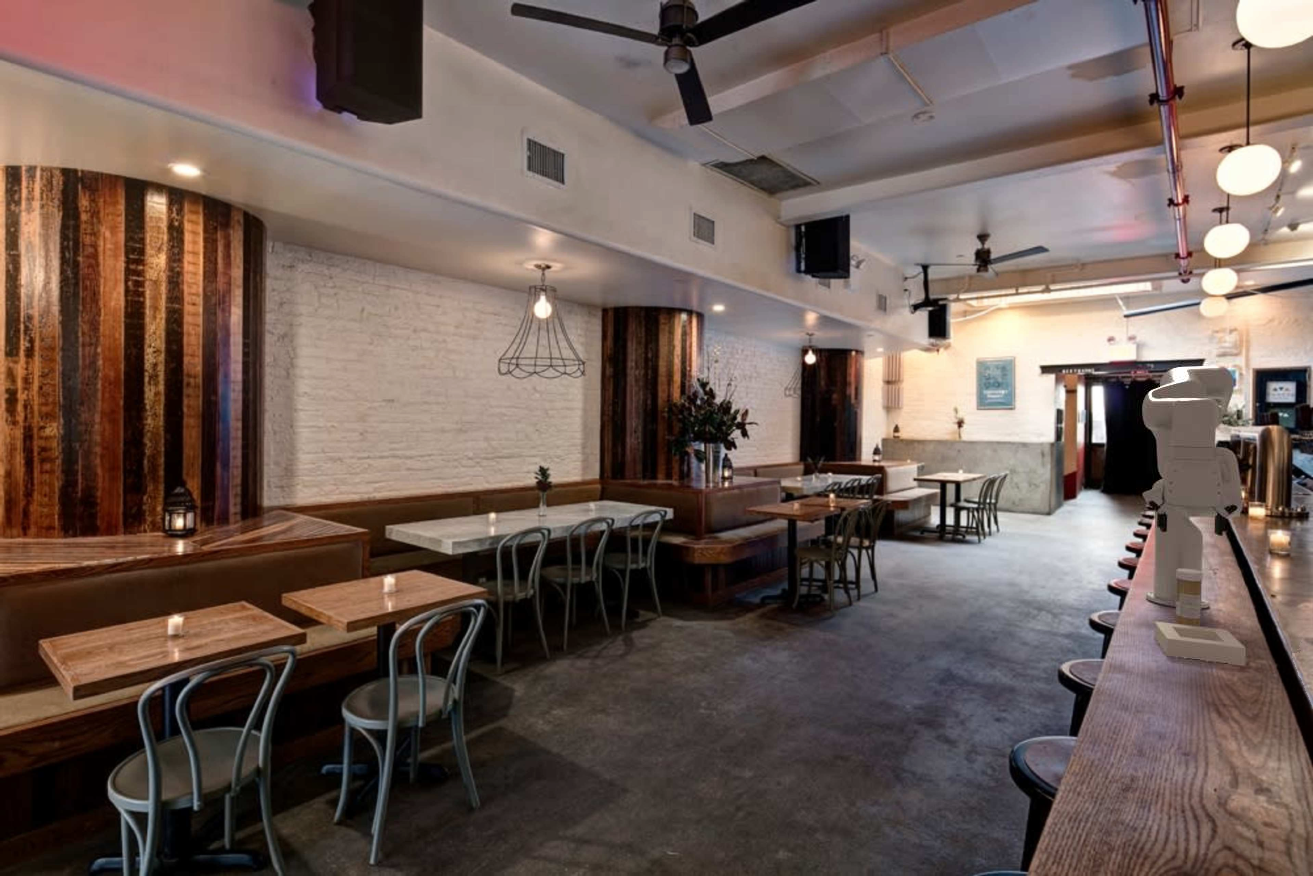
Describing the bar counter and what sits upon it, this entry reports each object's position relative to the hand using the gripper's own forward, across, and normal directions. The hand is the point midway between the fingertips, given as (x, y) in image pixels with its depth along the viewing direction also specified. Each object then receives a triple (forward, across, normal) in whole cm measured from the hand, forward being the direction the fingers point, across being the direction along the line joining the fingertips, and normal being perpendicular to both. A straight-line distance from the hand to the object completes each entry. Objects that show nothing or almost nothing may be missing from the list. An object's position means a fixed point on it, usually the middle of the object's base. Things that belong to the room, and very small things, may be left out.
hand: (1190, 532), depth 146 cm
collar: (+22, +2, +15) cm, 26 cm away
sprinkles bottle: (+22, 0, 0) cm, 22 cm away
